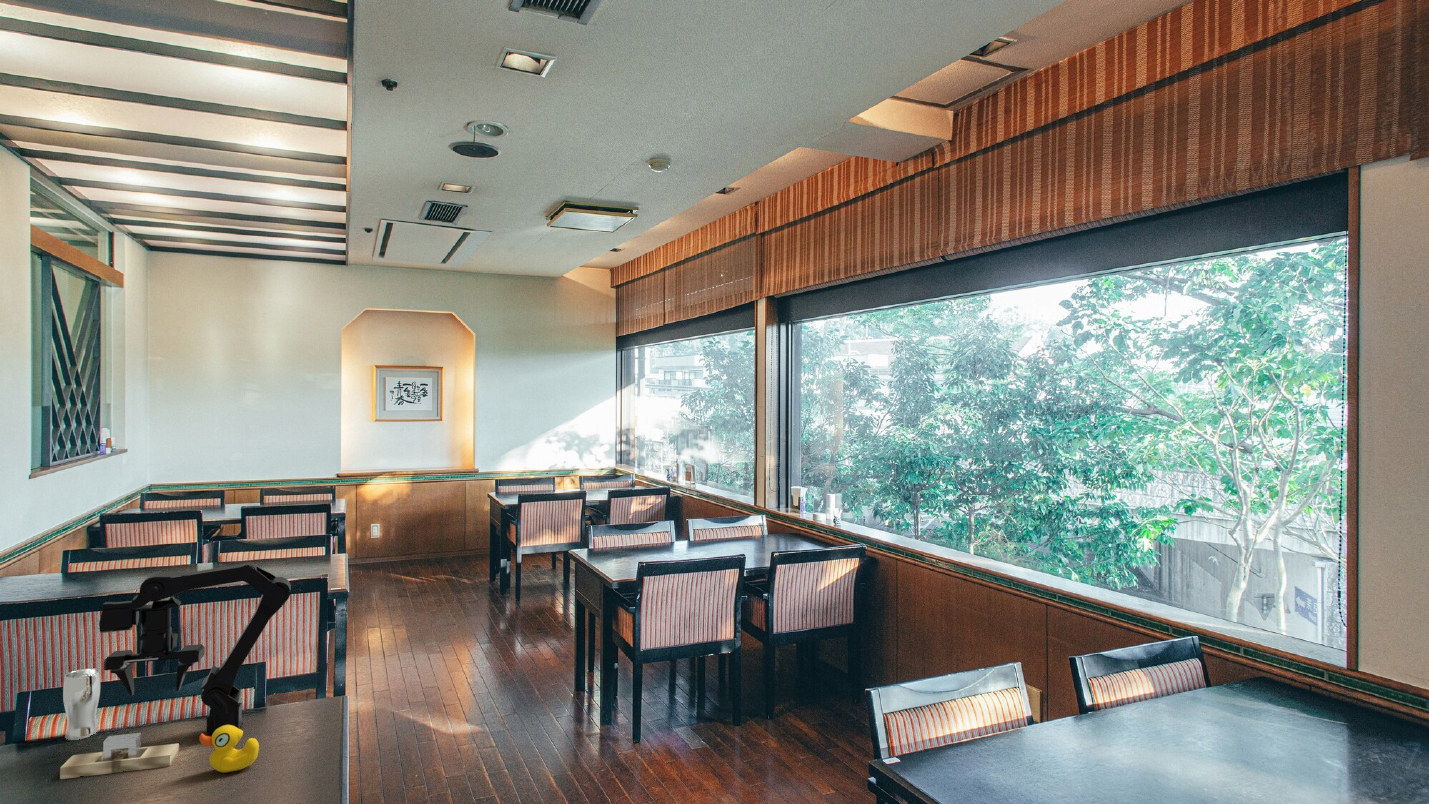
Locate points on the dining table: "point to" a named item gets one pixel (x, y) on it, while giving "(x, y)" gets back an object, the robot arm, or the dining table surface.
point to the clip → (122, 745)
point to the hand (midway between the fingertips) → (155, 693)
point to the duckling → (230, 749)
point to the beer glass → (81, 702)
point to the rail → (119, 761)
